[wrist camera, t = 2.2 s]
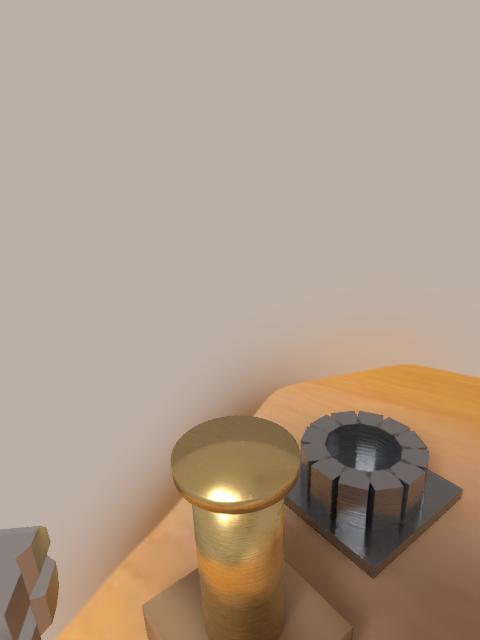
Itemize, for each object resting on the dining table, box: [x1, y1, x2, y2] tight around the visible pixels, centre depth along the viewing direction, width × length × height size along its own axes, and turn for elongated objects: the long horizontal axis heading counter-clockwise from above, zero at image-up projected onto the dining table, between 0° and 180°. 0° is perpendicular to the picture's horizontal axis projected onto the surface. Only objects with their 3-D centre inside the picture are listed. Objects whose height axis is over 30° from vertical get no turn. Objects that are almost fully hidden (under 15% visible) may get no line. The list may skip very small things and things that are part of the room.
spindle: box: [171, 416, 300, 640], centre depth 25 cm, size 6×6×12 cm
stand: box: [142, 559, 353, 640], centre depth 28 cm, size 9×9×3 cm
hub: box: [284, 411, 462, 578], centre depth 39 cm, size 12×12×5 cm
